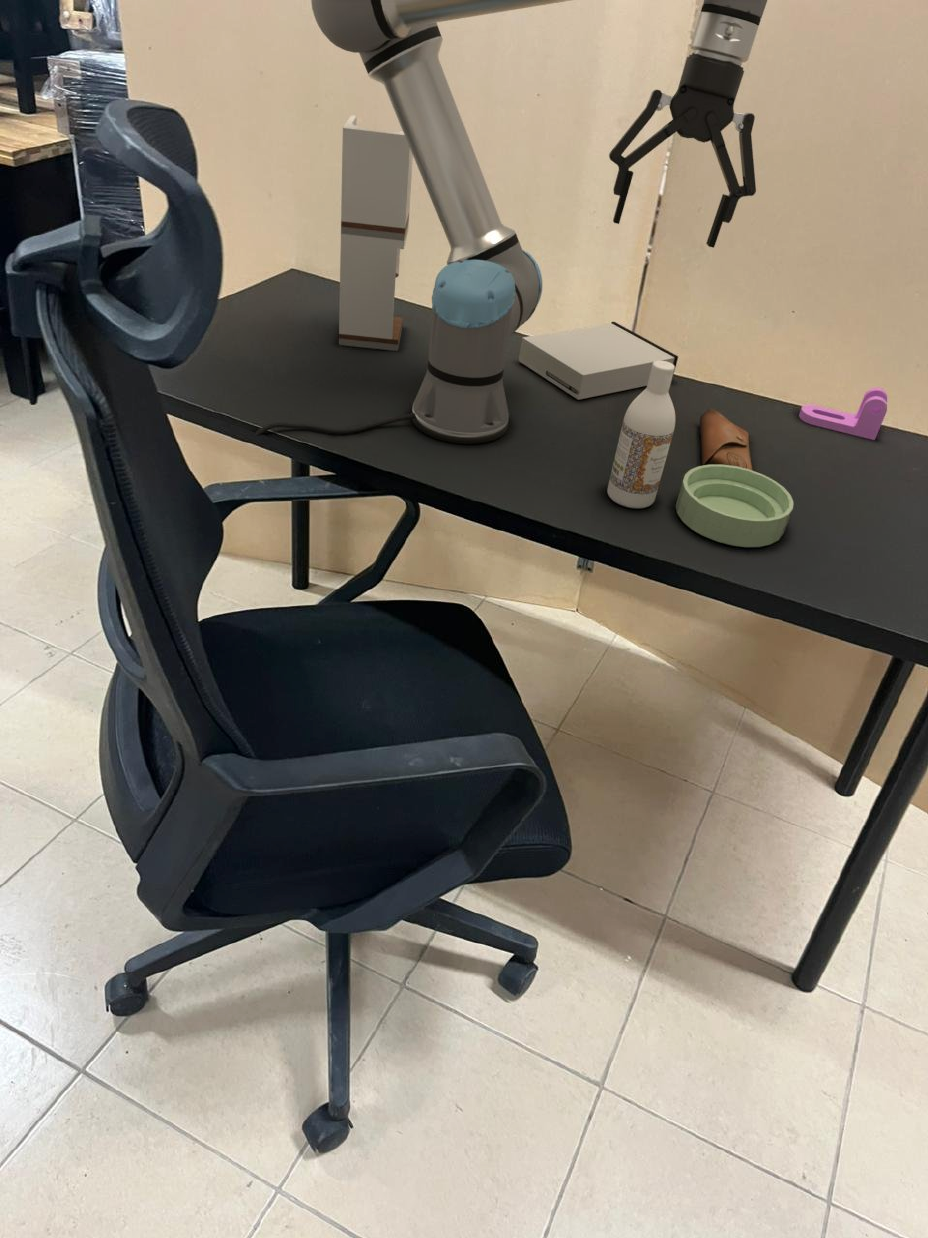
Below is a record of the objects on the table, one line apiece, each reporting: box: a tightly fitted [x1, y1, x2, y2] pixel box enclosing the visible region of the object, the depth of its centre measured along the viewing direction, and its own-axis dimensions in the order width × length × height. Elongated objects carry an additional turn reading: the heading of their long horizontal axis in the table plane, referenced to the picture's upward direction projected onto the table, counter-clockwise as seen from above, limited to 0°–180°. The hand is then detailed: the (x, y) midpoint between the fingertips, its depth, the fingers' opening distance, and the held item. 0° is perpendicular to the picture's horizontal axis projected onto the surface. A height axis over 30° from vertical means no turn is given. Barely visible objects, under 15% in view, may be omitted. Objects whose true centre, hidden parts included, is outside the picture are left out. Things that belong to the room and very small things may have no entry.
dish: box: [675, 465, 795, 548], centre depth 126 cm, size 15×15×4 cm
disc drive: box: [518, 321, 679, 401], centre depth 163 cm, size 18×22×5 cm
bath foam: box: [606, 361, 676, 509], centre depth 123 cm, size 7×7×20 cm
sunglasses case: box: [699, 408, 754, 471], centre depth 142 cm, size 18×7×7 cm, turn 170°
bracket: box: [798, 387, 888, 441], centre depth 155 cm, size 13×6×7 cm, turn 69°
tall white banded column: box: [338, 114, 414, 352], centre depth 156 cm, size 11×11×35 cm
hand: (662, 234), depth 125 cm, fingers open, 13 cm apart
